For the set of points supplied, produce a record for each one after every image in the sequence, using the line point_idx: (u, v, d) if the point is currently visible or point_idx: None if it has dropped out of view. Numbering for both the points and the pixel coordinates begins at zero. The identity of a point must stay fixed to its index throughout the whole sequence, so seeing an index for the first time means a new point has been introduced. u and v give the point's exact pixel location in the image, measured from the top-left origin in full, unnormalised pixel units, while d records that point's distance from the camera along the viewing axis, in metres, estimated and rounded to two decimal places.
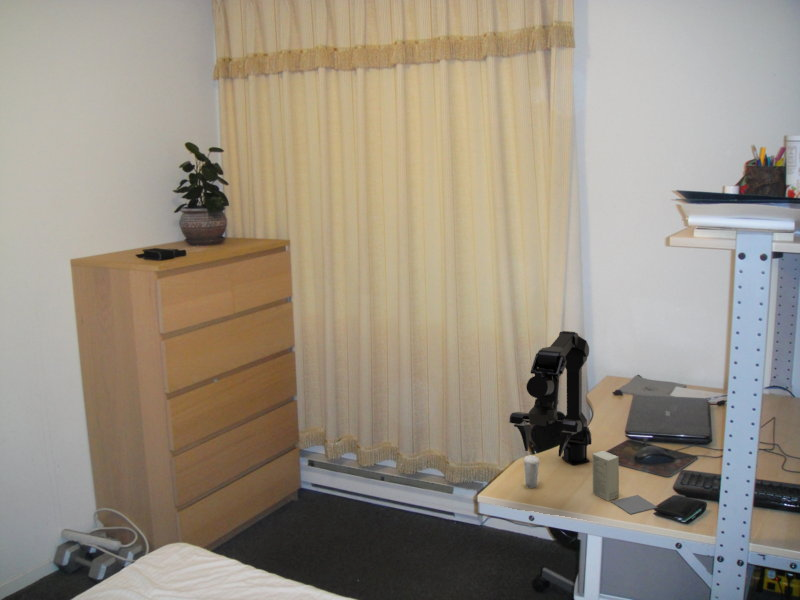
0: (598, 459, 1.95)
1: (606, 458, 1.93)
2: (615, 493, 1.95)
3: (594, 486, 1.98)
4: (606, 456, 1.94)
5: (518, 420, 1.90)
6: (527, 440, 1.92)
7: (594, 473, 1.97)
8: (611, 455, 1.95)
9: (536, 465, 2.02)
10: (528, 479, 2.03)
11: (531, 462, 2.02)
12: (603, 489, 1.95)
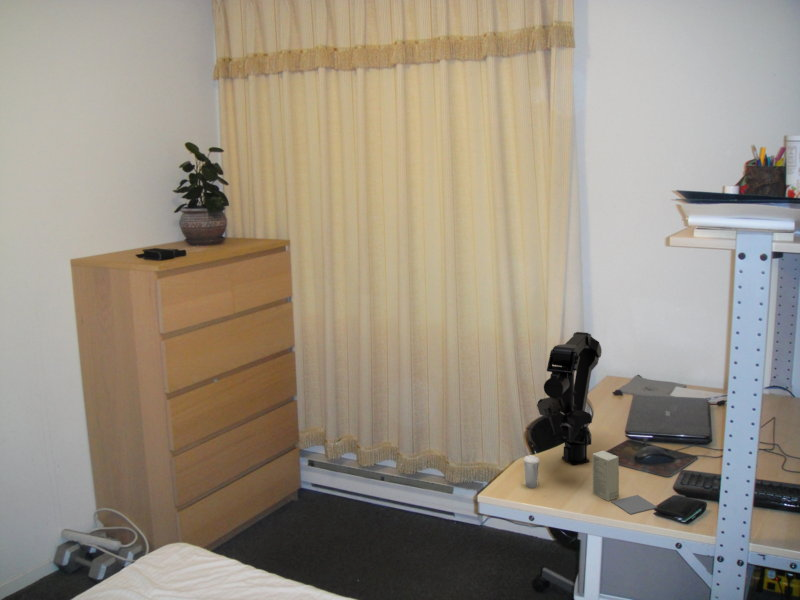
0: (598, 459, 1.95)
1: (606, 458, 1.93)
2: (615, 493, 1.95)
3: (594, 486, 1.98)
4: (606, 456, 1.94)
5: None
6: (556, 425, 2.12)
7: (594, 473, 1.97)
8: (611, 455, 1.95)
9: (536, 465, 2.02)
10: (528, 479, 2.03)
11: (531, 462, 2.02)
12: (603, 489, 1.95)
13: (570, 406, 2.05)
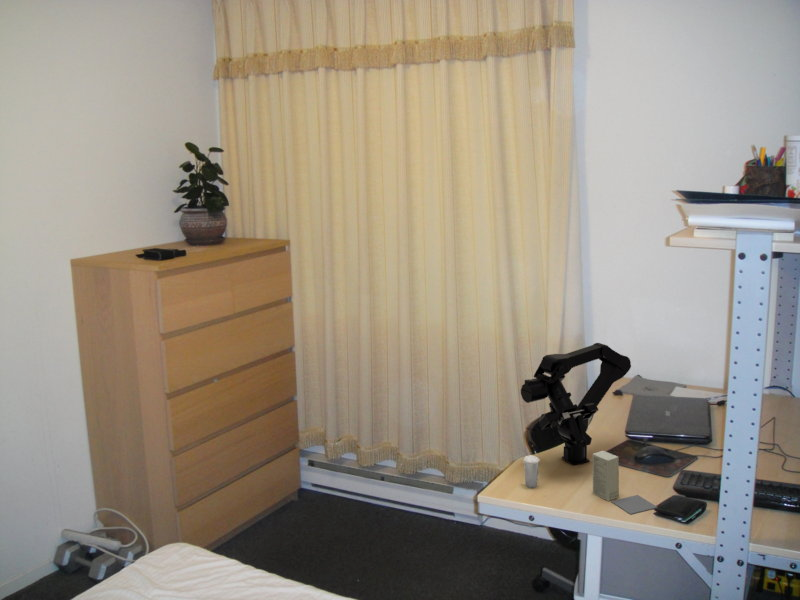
0: (598, 459, 1.95)
1: (606, 458, 1.93)
2: (615, 493, 1.95)
3: (594, 486, 1.98)
4: (606, 456, 1.94)
5: None
6: None
7: (594, 473, 1.97)
8: (611, 455, 1.95)
9: (536, 465, 2.02)
10: (528, 479, 2.03)
11: (531, 462, 2.02)
12: (603, 489, 1.95)
13: (557, 410, 2.09)
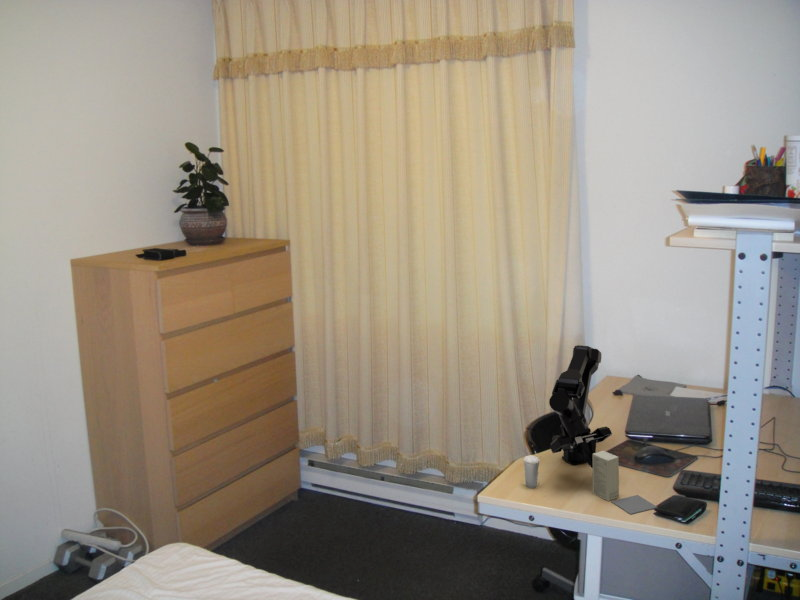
0: (598, 459, 1.95)
1: (606, 458, 1.93)
2: (615, 493, 1.95)
3: (594, 486, 1.98)
4: (606, 457, 1.94)
5: None
6: None
7: (594, 473, 1.97)
8: (611, 455, 1.95)
9: (536, 465, 2.02)
10: (528, 479, 2.03)
11: (531, 462, 2.02)
12: (603, 489, 1.95)
13: (570, 434, 2.02)
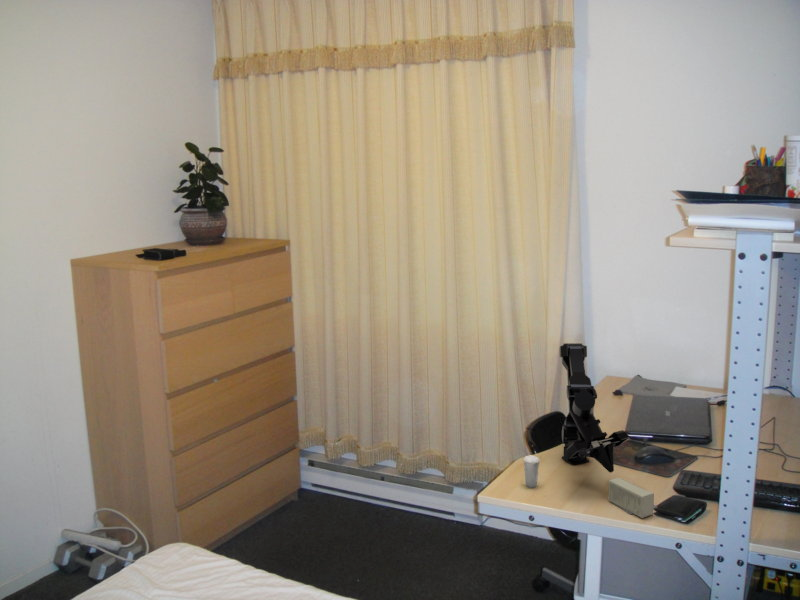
0: (639, 505, 1.83)
1: (644, 513, 1.84)
2: None
3: (615, 486, 1.91)
4: (646, 509, 1.84)
5: None
6: None
7: (626, 491, 1.87)
8: (651, 508, 1.85)
9: (536, 465, 2.02)
10: (528, 479, 2.03)
11: (531, 462, 2.02)
12: (616, 498, 1.91)
13: (586, 438, 1.98)
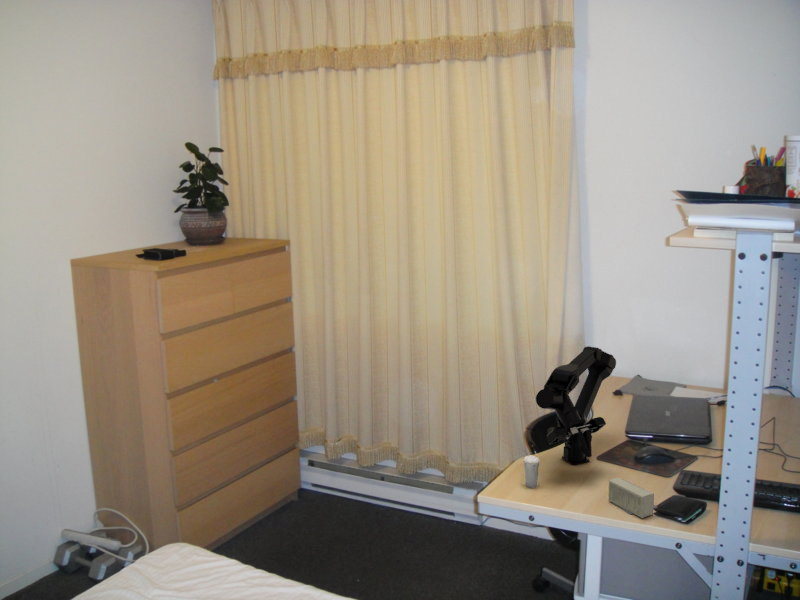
0: (639, 505, 1.83)
1: (644, 513, 1.84)
2: None
3: (615, 486, 1.91)
4: (646, 509, 1.84)
5: None
6: None
7: (626, 491, 1.87)
8: (651, 508, 1.85)
9: (536, 465, 2.02)
10: (528, 479, 2.03)
11: (531, 462, 2.02)
12: (616, 498, 1.91)
13: (565, 425, 2.06)
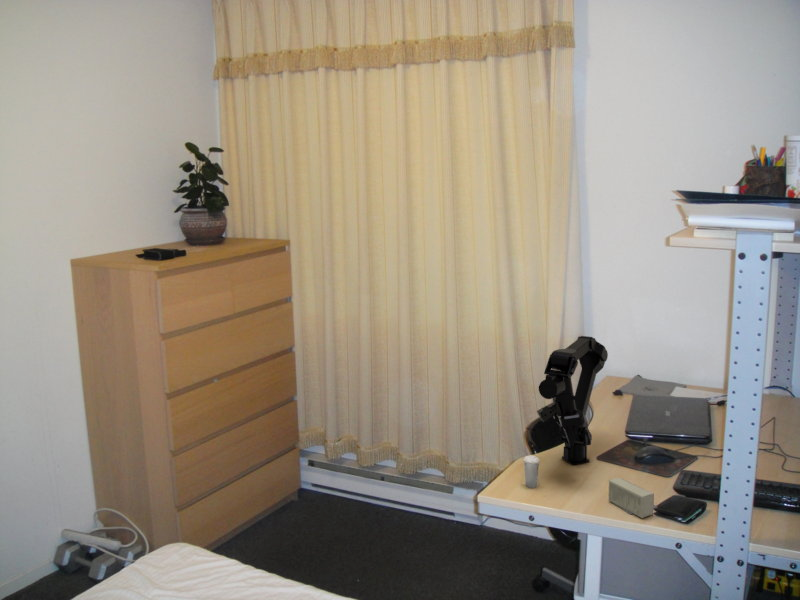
0: (639, 505, 1.83)
1: (644, 513, 1.84)
2: None
3: (615, 486, 1.91)
4: (646, 509, 1.84)
5: None
6: None
7: (626, 491, 1.87)
8: (651, 508, 1.85)
9: (536, 465, 2.02)
10: (528, 479, 2.03)
11: (531, 462, 2.02)
12: (616, 498, 1.91)
13: (568, 410, 2.05)
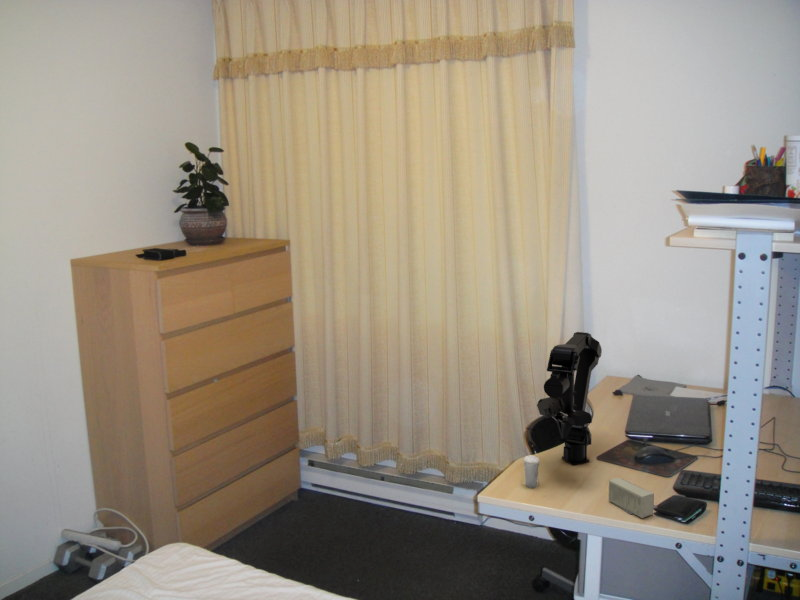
0: (639, 505, 1.83)
1: (644, 513, 1.84)
2: None
3: (615, 486, 1.91)
4: (646, 509, 1.84)
5: None
6: None
7: (626, 491, 1.87)
8: (651, 508, 1.85)
9: (536, 465, 2.02)
10: (528, 479, 2.03)
11: (531, 462, 2.02)
12: (616, 498, 1.91)
13: (570, 406, 2.05)
